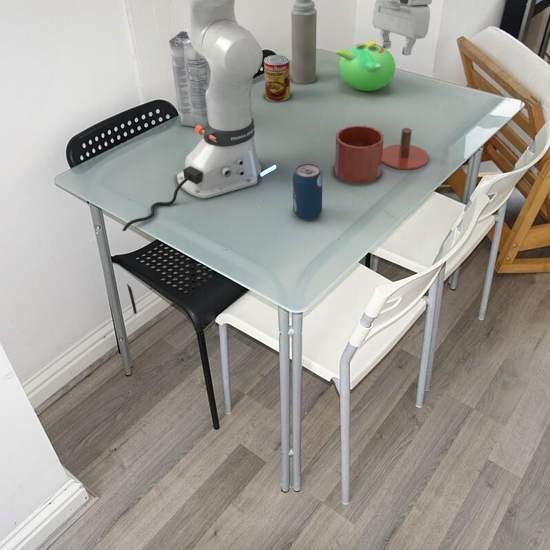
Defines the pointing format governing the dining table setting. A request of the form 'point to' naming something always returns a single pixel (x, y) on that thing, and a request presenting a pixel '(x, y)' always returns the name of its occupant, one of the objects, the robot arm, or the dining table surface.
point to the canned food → (277, 77)
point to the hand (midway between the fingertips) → (396, 51)
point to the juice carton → (190, 81)
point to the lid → (404, 154)
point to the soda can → (307, 191)
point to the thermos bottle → (303, 41)
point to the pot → (358, 154)
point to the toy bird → (366, 66)
